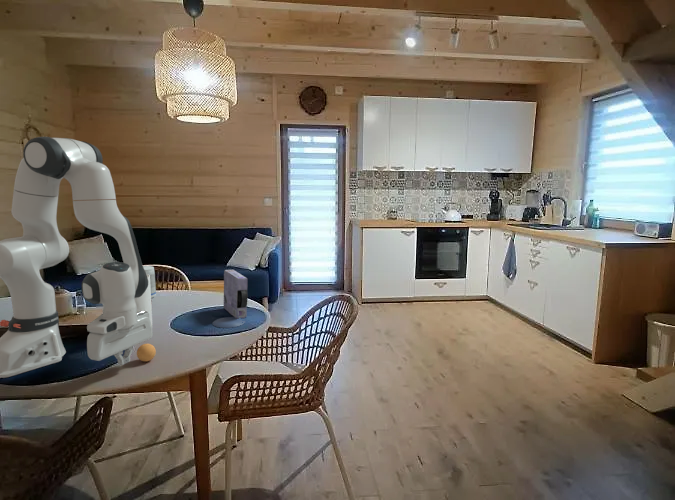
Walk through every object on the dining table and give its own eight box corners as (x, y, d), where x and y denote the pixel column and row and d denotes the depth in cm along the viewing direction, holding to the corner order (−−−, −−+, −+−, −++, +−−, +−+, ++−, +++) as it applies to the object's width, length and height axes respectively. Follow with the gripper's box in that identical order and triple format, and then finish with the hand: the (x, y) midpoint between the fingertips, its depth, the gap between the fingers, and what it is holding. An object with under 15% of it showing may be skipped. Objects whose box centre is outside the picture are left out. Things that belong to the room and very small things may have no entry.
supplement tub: (150, 293, 214) (149, 264, 212) (159, 297, 208) (158, 267, 206) (130, 297, 207) (129, 267, 204) (139, 301, 201) (137, 270, 198)
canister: (108, 327, 165) (105, 276, 162) (144, 319, 174) (141, 271, 171) (121, 336, 155) (117, 282, 152) (158, 327, 165) (155, 277, 162)
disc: (232, 329, 164) (232, 329, 164) (205, 325, 169) (205, 324, 169) (251, 320, 176) (251, 319, 176) (225, 316, 181) (225, 315, 181)
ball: (146, 365, 131) (145, 348, 130) (133, 362, 133) (132, 345, 132) (160, 359, 136) (159, 342, 135) (147, 356, 138) (146, 339, 137)
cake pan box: (248, 318, 178) (248, 277, 176) (237, 320, 176) (236, 278, 173) (233, 306, 194) (233, 268, 192) (223, 308, 192) (222, 269, 189)
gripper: (140, 307, 135) (143, 349, 137) (81, 327, 116) (85, 375, 118) (156, 309, 133) (158, 352, 135) (98, 330, 114) (102, 379, 116)
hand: (124, 363), depth 126 cm, fingers closed
